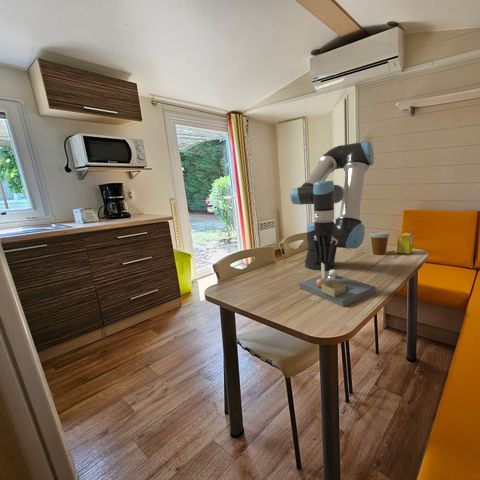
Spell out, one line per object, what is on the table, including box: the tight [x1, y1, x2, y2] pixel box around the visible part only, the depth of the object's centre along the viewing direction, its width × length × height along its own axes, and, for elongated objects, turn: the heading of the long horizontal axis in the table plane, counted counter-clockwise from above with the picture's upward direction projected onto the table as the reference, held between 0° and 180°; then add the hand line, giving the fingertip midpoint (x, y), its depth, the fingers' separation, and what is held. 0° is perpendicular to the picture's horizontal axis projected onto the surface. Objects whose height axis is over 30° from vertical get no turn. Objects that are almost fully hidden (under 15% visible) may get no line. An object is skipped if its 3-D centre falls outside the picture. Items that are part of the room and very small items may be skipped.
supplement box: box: [396, 232, 414, 256], centre depth 143 cm, size 6×6×11 cm
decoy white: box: [329, 269, 338, 277], centre depth 112 cm, size 3×3×3 cm
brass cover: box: [321, 280, 346, 297], centre depth 97 cm, size 6×6×3 cm
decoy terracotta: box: [316, 279, 325, 287], centre depth 103 cm, size 3×3×3 cm
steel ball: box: [327, 275, 336, 282], centre depth 106 cm, size 3×3×3 cm
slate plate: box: [298, 274, 376, 307], centre depth 105 cm, size 22×18×2 cm
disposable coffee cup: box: [369, 230, 390, 256], centre depth 147 cm, size 10×10×12 cm
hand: (325, 277), depth 108 cm, fingers closed
